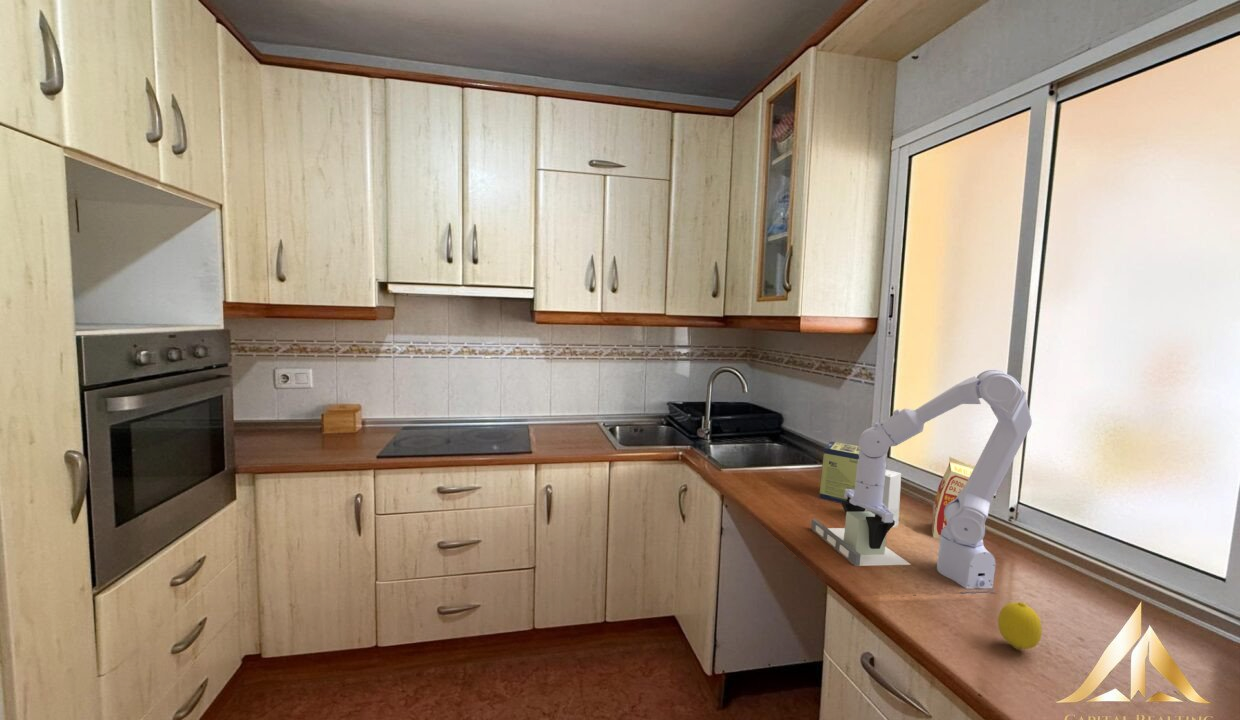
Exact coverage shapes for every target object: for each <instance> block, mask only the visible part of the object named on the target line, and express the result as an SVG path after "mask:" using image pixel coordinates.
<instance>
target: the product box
mask: <svg viewBox="0 0 1240 720" xmlns="http://www.w3.org/2000/svg"><path fill="white" fill-rule="evenodd" d="M866 517H875V514H873V513H871V512H846V514H845V523H844V528H845V532H844V542H845V543H846V544H848V545H849V546H850V547H852V548H853V549H854V550H855V551H857V552H858V553H859V554H860V555H884V553H885V546H886V541H887V535H886V536H885V538H884V540H883V542H882V544H881V547H880V549H871V548H870V547H869V528H868V523H867V520H866Z"/></svg>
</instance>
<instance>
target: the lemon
mask: <svg viewBox="0 0 1240 720" xmlns="http://www.w3.org/2000/svg"><path fill="white" fill-rule="evenodd" d="M997 624H998V629H999V633H1000V634H1001V636H1002V637H1003V639H1004V640H1005V641H1006V642H1008V644H1009V645H1011V646H1012V647H1013V648H1014V649H1015V648H1016V649H1015V650H1017V649H1019V650H1022V649H1023V650H1029V649H1032V648H1034V647H1036V646H1037V645H1038V644H1039V642H1040V641H1041V638H1042V632H1043V631H1042V629H1043V628H1042V623H1041V619H1040V617H1039V615H1038V614H1037V613H1036V611H1035V610H1034V609H1032V608H1031V607H1030V606H1029V605H1027V604H1026V603H1025V602H1024V601H1020V602H1016V601H1014V602H1009V603H1007V604H1004V606H1003V607H1002V609H1000V612H999V615H998V619H997Z"/></svg>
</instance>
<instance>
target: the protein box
mask: <svg viewBox="0 0 1240 720" xmlns="http://www.w3.org/2000/svg"><path fill="white" fill-rule="evenodd" d="M859 451H860V447H859V445H854V444H849V443H848V444H847V443H843V442H836V441H829V443H828V444H826V446H825V447H824V448H823V456H822V457H823V458H822V469H821V477H820V485H819V493H818V498H819V499H821V500H826V499H827V501H830V500H831V502H834V501H835V502H836V503H840V504H841V501H843V500H847V498H845V497H844V495H845V489H853V490H855V482H856V472H857V462H858V459H859Z"/></svg>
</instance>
